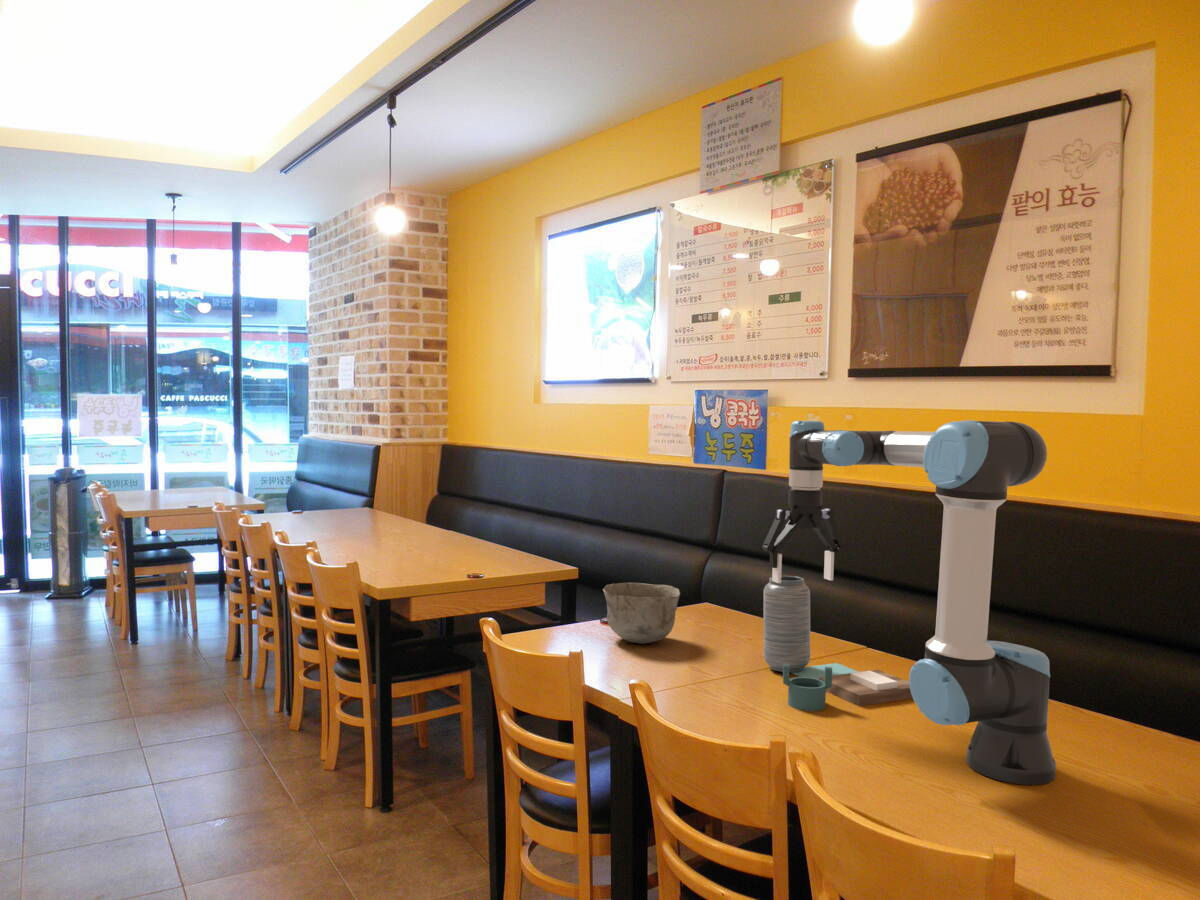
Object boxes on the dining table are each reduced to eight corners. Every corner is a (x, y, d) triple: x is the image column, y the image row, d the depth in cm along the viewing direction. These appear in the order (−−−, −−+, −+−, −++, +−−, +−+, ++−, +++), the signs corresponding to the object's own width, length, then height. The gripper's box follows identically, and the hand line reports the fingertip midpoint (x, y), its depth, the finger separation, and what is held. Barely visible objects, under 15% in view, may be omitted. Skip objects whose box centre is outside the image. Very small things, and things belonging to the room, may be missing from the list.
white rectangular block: (897, 687, 203) (897, 681, 203) (876, 690, 201) (877, 684, 201) (870, 676, 211) (870, 670, 211) (850, 679, 209) (850, 673, 209)
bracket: (834, 707, 196) (836, 667, 196) (804, 713, 192) (805, 673, 192) (806, 696, 204) (807, 658, 204) (776, 701, 200) (777, 662, 199)
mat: (874, 679, 217) (874, 678, 217) (822, 687, 211) (822, 685, 211) (836, 664, 230) (837, 663, 230) (786, 670, 223) (786, 669, 223)
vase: (794, 661, 232) (794, 574, 232) (819, 671, 221) (819, 580, 221) (755, 664, 228) (755, 576, 228) (778, 675, 217) (778, 582, 217)
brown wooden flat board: (919, 696, 205) (919, 686, 205) (858, 706, 197) (859, 695, 197) (877, 679, 218) (877, 669, 218) (818, 687, 210) (819, 677, 210)
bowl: (607, 629, 261) (608, 579, 261) (680, 633, 258) (681, 583, 258) (596, 649, 240) (597, 595, 239) (676, 654, 237) (678, 599, 236)
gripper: (842, 486, 208) (840, 575, 209) (748, 487, 200) (746, 580, 201) (862, 489, 201) (859, 581, 202) (765, 490, 193) (762, 586, 194)
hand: (802, 580), depth 201 cm, fingers open, 13 cm apart
